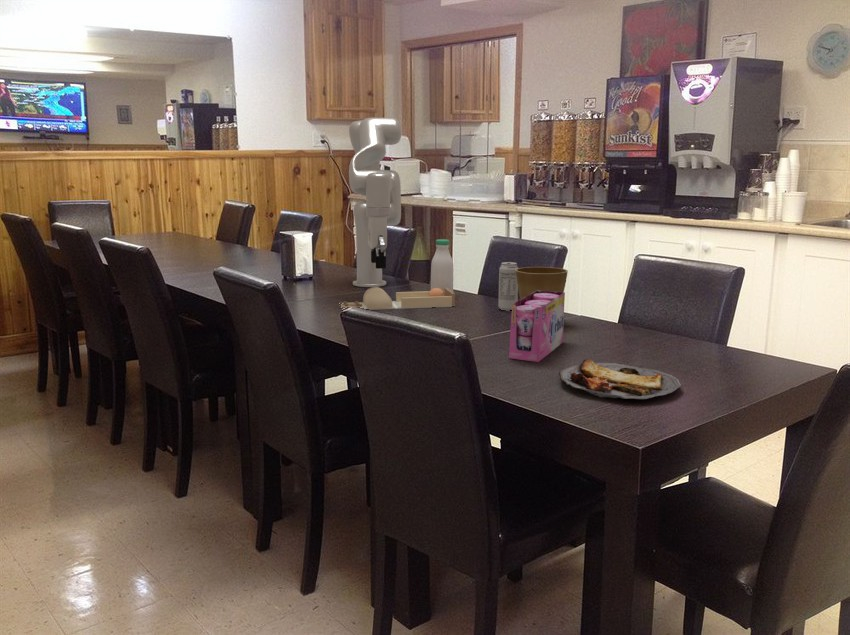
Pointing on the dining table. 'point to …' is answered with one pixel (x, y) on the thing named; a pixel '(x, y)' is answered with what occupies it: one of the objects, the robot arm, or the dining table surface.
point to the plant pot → (540, 280)
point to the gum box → (536, 325)
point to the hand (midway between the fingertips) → (378, 265)
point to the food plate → (618, 380)
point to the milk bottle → (442, 266)
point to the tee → (351, 304)
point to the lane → (405, 300)
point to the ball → (436, 292)
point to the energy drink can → (507, 285)
